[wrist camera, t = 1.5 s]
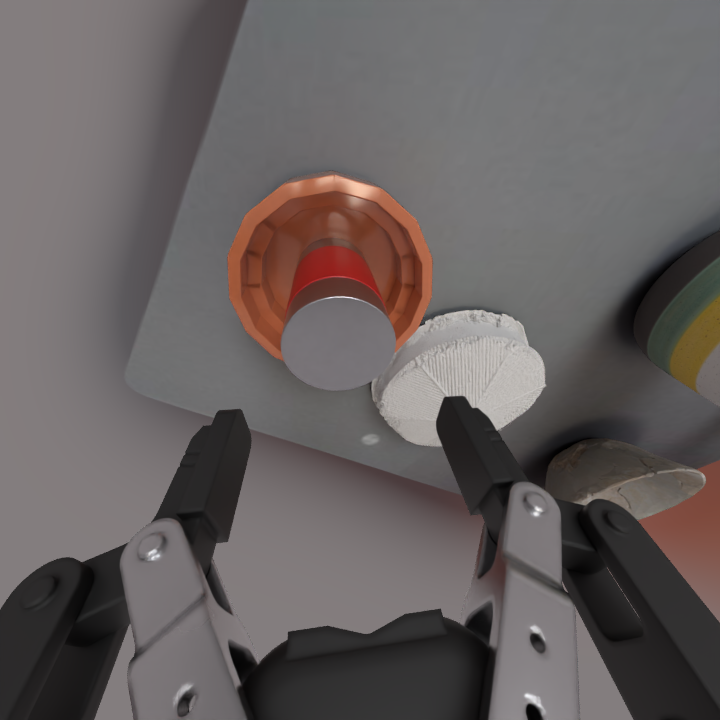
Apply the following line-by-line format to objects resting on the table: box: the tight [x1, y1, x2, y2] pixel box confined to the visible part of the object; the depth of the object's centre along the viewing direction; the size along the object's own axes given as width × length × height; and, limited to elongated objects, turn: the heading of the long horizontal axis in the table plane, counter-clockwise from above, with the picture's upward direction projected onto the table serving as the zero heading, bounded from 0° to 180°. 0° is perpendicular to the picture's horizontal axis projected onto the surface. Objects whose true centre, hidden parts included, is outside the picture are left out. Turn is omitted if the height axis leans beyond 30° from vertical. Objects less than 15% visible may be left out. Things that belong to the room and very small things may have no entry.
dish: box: [227, 170, 433, 361], centre depth 21 cm, size 15×15×5 cm
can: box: [281, 238, 396, 391], centre depth 19 cm, size 6×6×11 cm
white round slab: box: [371, 310, 546, 447], centre depth 30 cm, size 20×20×7 cm
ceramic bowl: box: [545, 438, 706, 520], centre depth 45 cm, size 22×23×10 cm
